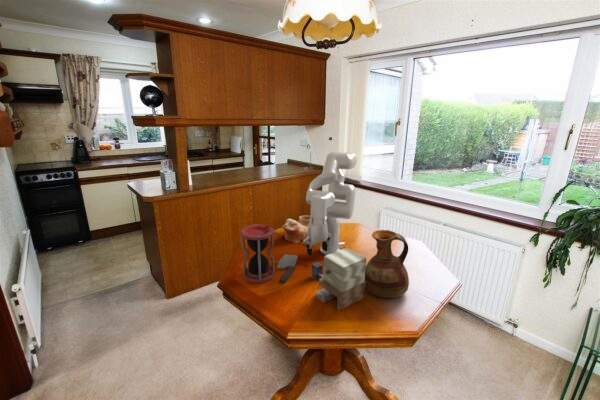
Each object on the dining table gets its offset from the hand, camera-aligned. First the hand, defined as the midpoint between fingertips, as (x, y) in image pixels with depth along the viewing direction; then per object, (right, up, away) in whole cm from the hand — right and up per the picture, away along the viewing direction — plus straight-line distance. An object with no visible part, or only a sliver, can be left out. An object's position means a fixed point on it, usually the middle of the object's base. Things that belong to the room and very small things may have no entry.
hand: (317, 252), depth 144 cm
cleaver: (-16, -11, +13) cm, 24 cm away
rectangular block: (+3, -18, -11) cm, 22 cm away
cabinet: (+11, -18, -10) cm, 23 cm away
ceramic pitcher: (+32, -17, -6) cm, 37 cm away
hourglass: (-30, -13, +6) cm, 33 cm away
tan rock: (-9, +1, +50) cm, 51 cm away
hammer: (+5, -15, -2) cm, 17 cm away
